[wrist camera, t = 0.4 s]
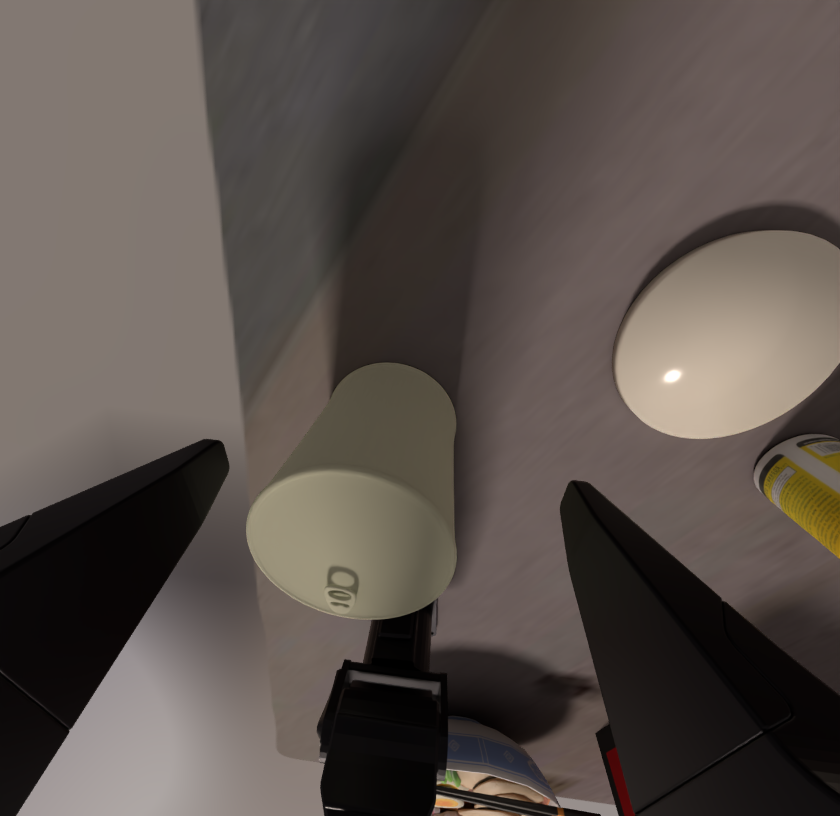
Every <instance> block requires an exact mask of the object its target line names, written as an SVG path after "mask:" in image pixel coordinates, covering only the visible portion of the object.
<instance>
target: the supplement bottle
mask: <svg viewBox="0 0 840 816" xmlns="http://www.w3.org/2000/svg"><path fill="white" fill-rule="evenodd" d="M754 482H755V485H756V487H757V488H758V489H759V491H760V492H761V493H762V494H764V495H765V496H766V497H767V498H768V499H769V500H770V501H771V502H773V503H774V504H775V505H776V506H777V507H779V508H780V509H781V510H782V511H783V512H784V513H786V514H787V515H788V516H789V517H790V518H791V519H793V520H794V521H795V522H796V523H797V524H799V525H800V526H801V527H802V528H803V529H805V530H806V531H807V532H808V533H810V534H811V535H812V536H813V537H814V538H816V539H817V540H818V541H819V542H820V543H822V544H823V545H824V546H825V547H826V548H828V549H829V550H830V551H831V552H832V553H833V554H835V555H836V556H837V557H838V558H839V559H840V440H839V439H837V438H834V437H831V436H828V435H823V434H807V435H801V436H797V437H794V438H791V439H788V440H786V441H784V442H782V443H780V444H778V445H776V446H775V447H773V448H772V449H771V450H769V451H768V452H767V453H766V454H765V455H764V456H763V457H762V458H761V459H760V461H759V462H758V464H757V465H756V468H755V470H754Z"/></svg>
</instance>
